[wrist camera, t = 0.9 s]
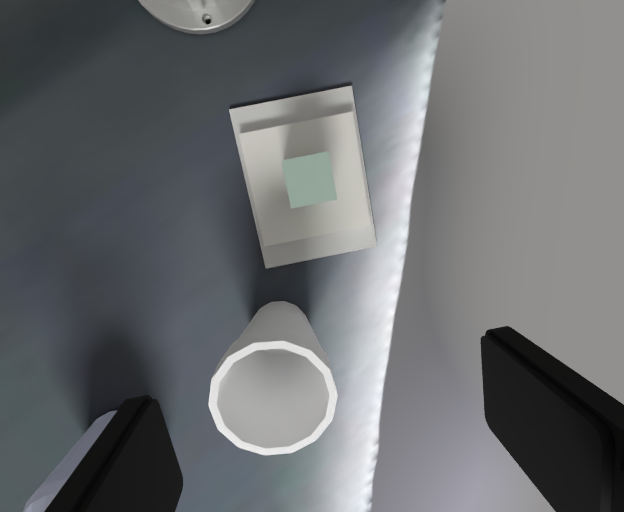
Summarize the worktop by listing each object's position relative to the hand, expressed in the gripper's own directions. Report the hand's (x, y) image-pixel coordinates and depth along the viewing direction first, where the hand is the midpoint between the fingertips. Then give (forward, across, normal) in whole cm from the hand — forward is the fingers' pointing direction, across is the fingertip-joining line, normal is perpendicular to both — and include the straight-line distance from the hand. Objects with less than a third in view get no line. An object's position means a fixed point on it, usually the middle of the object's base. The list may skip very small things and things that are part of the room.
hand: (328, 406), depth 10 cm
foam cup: (+27, +4, +10) cm, 29 cm away
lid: (+27, -2, -6) cm, 27 cm away
